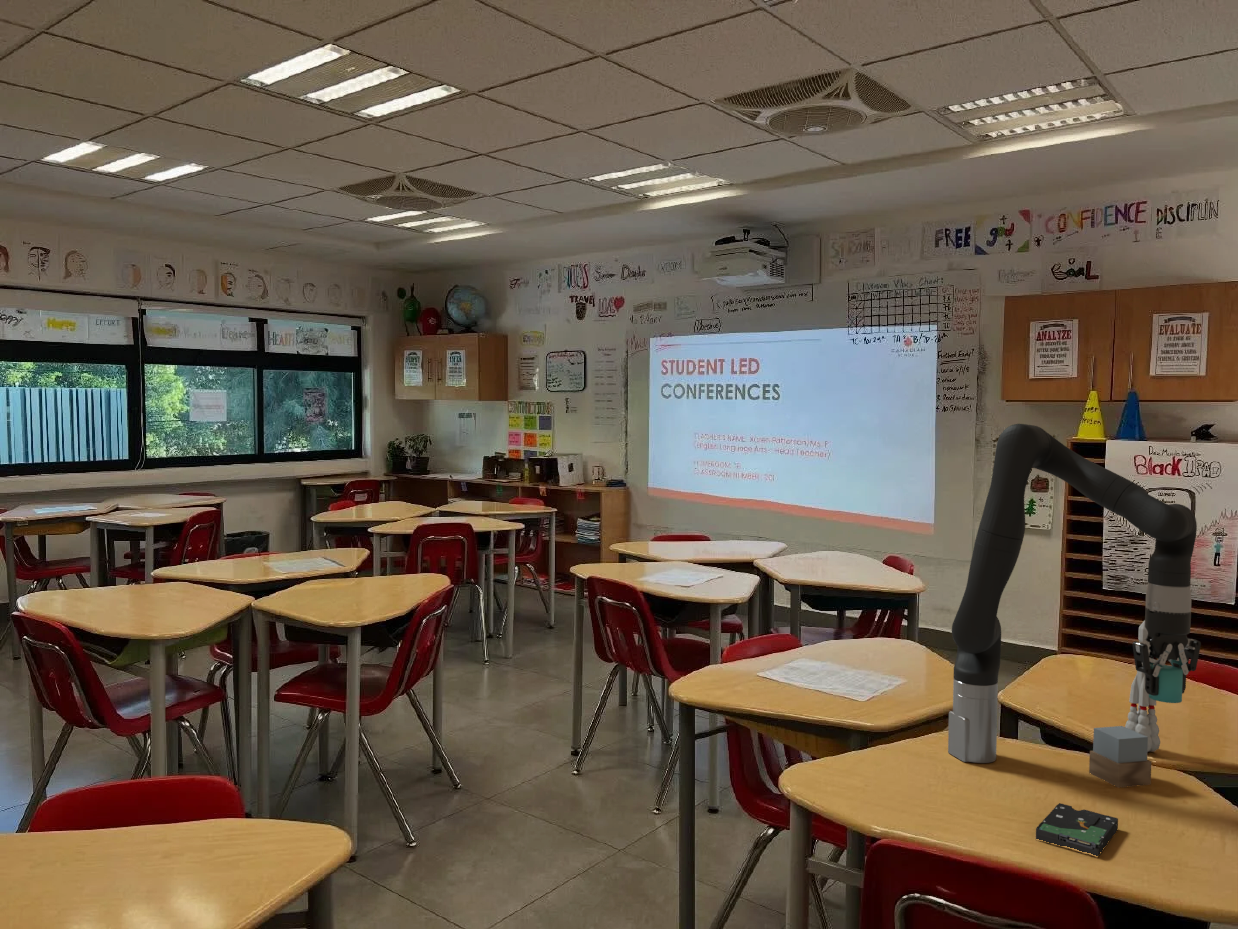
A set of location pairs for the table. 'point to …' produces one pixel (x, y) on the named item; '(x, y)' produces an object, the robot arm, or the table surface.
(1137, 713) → the rocket model
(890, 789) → the table surface
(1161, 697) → the teal upright cylinder
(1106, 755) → the middle block
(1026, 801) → the table surface
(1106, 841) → the disk drive
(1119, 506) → the robot arm
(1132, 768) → the base block
